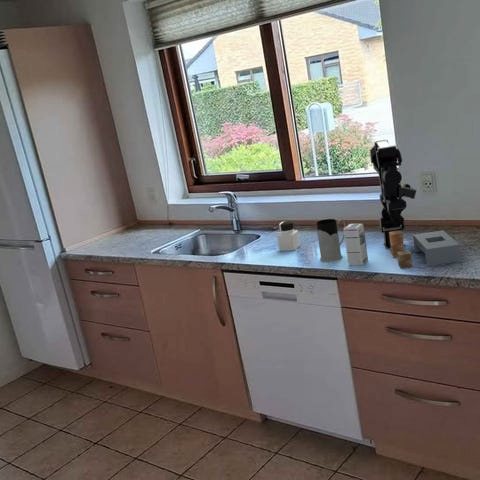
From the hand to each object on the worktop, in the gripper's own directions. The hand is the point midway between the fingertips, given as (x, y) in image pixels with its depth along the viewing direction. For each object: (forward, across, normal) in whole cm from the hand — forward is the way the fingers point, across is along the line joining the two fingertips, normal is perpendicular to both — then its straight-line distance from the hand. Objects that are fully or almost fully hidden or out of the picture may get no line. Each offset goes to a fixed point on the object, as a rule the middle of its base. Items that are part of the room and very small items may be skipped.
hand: (394, 223), depth 207 cm
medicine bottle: (+13, +31, +40) cm, 52 cm away
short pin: (+13, -13, 0) cm, 18 cm away
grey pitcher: (+13, +10, +22) cm, 27 cm away
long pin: (+13, 0, 0) cm, 13 cm away
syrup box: (+13, -2, +15) cm, 20 cm away
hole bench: (+13, -6, -12) cm, 19 cm away
